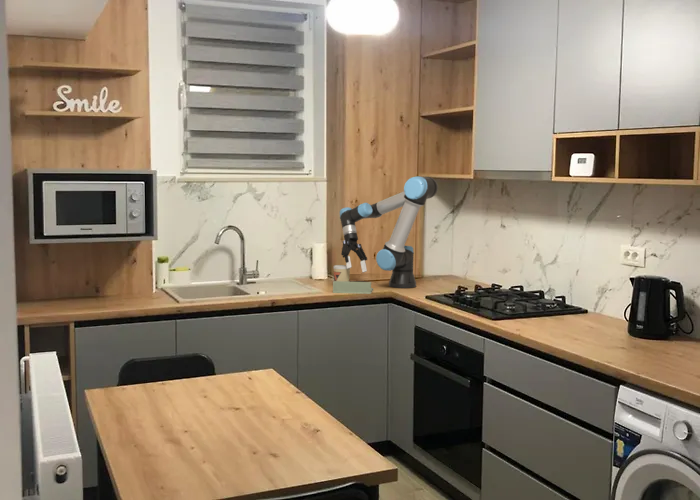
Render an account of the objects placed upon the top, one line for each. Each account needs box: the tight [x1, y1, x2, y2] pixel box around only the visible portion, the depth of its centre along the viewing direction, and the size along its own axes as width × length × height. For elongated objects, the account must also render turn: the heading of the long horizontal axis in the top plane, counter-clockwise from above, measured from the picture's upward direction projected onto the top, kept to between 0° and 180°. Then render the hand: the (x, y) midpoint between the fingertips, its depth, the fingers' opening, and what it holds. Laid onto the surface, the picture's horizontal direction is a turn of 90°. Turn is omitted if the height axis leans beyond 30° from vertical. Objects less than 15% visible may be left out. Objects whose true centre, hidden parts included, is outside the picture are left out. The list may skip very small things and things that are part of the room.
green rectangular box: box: [332, 280, 374, 295], centre depth 401 cm, size 20×14×6 cm
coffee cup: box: [332, 264, 351, 282], centre depth 414 cm, size 9×9×12 cm
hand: (357, 269), depth 411 cm, fingers open, 13 cm apart
